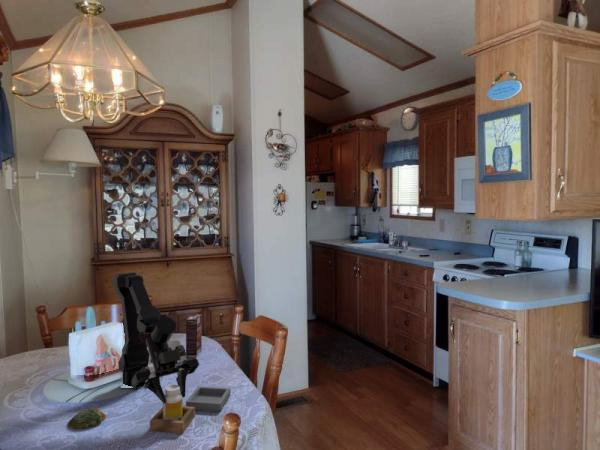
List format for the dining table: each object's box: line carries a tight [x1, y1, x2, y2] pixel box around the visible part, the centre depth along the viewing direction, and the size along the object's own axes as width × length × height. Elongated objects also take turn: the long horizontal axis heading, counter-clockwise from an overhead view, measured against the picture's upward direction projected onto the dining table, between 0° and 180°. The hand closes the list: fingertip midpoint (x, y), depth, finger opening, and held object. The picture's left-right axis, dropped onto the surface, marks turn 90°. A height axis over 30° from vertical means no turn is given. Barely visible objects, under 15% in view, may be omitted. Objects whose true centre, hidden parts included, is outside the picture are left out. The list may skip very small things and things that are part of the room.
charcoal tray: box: [185, 385, 231, 413], centre depth 136 cm, size 11×11×2 cm
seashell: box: [67, 407, 107, 430], centre depth 123 cm, size 10×4×10 cm
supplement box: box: [185, 313, 203, 359], centre depth 178 cm, size 9×5×16 cm, turn 179°
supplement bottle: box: [162, 384, 183, 421], centre depth 122 cm, size 5×5×10 cm
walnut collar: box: [149, 405, 196, 435], centre depth 122 cm, size 9×9×3 cm
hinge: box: [144, 339, 187, 372], centre depth 168 cm, size 17×5×10 cm, turn 139°
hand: (174, 399), depth 121 cm, fingers closed on supplement bottle, 5 cm apart
